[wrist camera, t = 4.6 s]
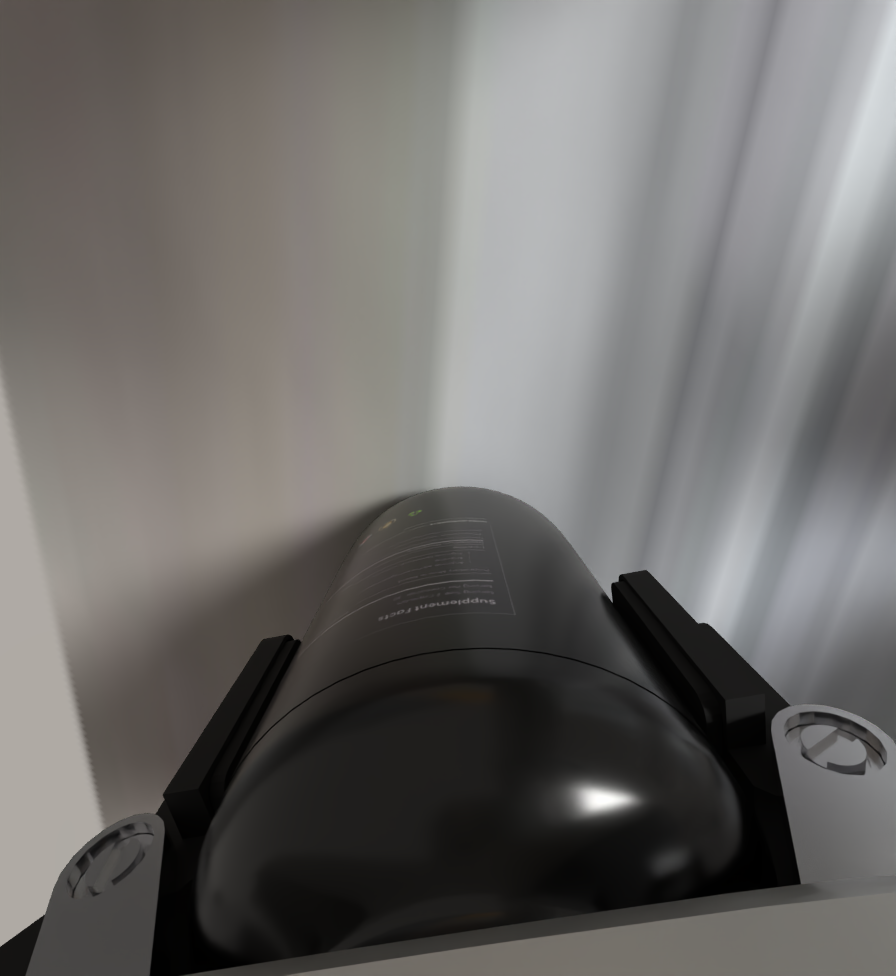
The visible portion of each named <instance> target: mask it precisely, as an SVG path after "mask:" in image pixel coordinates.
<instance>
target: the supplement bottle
mask: <svg viewBox="0 0 896 976" xmlns="http://www.w3.org/2000/svg"><path fill="white" fill-rule="evenodd" d="M776 887H779V883H778V879H777V875H776V871H775V867H774V863H773V859H772V855H771V851H770V847H769V845H768V842H767V840H766V837H765V835H764V832H763V830H762V827H761V825H760V822H759V820H758V817H757V815H756V813H755V811H754V809H753V808H752V806H751V804H750V802H749V801H748V799H747V797H746V795H745V793H744V792H743V790H742V788H741V787H740V785H739V784H738V782H737V780H736V779H735V777H734V776H733V774H732V773H731V771H730V770H729V768H728V766H727V765H726V763H725V761H724V760H723V758H722V757H721V755H720V754H719V752H718V751H717V749H716V748H715V747H714V745H713V744H712V742H711V741H710V740H709V738H708V737H707V735H706V734H705V732H704V731H703V730H702V728H701V727H700V725H699V724H698V723H697V721H696V720H695V718H694V717H693V716H692V714H691V713H690V711H689V710H688V709H687V707H686V706H685V704H684V703H683V701H682V700H681V699H680V697H679V696H678V694H677V693H676V692H675V690H674V689H673V687H672V686H671V685H670V683H669V682H668V680H667V679H666V678H665V676H664V675H663V673H662V672H661V671H660V669H659V668H658V666H657V665H656V664H655V662H654V661H653V659H652V658H651V656H650V655H649V654H648V652H647V651H646V649H645V648H644V647H643V645H642V644H641V642H640V641H639V640H638V638H637V637H636V635H635V634H634V633H633V631H632V630H631V628H630V627H629V626H628V624H627V623H626V621H625V620H624V619H623V617H622V616H621V614H620V613H619V611H618V610H617V609H616V607H615V606H614V604H613V603H612V602H611V600H610V599H609V597H608V596H607V595H606V593H605V592H604V590H603V589H602V588H601V586H600V585H599V583H598V582H597V581H596V579H595V578H594V576H593V575H592V574H591V572H590V571H589V569H588V568H587V566H586V565H585V564H584V562H583V561H582V559H581V558H580V557H579V555H578V554H577V553H576V551H575V550H574V548H573V547H572V546H571V544H570V543H569V542H568V541H567V539H566V538H565V537H564V535H563V534H562V533H561V532H560V531H559V530H558V529H557V527H556V526H555V525H554V524H553V523H552V522H551V521H549V520H548V519H547V518H546V517H545V516H544V515H543V514H541V513H540V512H539V511H537V510H536V509H534V508H533V507H531V506H530V505H528V504H526V503H525V502H523V501H521V500H519V499H517V498H514V497H512V496H510V495H507V494H504V493H501V492H498V491H493V490H489V489H484V488H477V487H447V488H441V489H435V490H431V491H427V492H423V493H420V494H417V495H414V496H412V497H409V498H407V499H405V500H403V501H401V502H399V503H397V504H396V505H394V506H392V507H391V508H389V509H388V510H386V511H385V512H384V513H382V514H381V515H380V516H378V517H377V518H376V519H375V520H374V521H373V522H372V523H371V524H370V525H369V526H368V527H367V528H366V529H365V530H364V531H363V533H362V534H361V535H360V536H359V538H358V539H357V540H356V542H355V543H354V545H353V546H352V548H351V550H350V551H349V553H348V555H347V557H346V558H345V560H344V562H343V563H342V565H341V567H340V569H339V571H338V573H337V575H336V576H335V578H334V580H333V582H332V584H331V586H330V588H329V590H328V592H327V594H326V596H325V598H324V600H323V602H322V603H321V605H320V607H319V609H318V611H317V613H316V615H315V617H314V619H313V621H312V623H311V625H310V627H309V628H308V630H307V632H306V634H305V636H304V638H303V640H302V642H301V644H300V646H299V648H298V650H297V652H296V654H295V655H294V657H293V659H292V661H291V663H290V665H289V667H288V669H287V671H286V673H285V675H284V677H283V679H282V680H281V682H280V684H279V686H278V688H277V690H276V692H275V694H274V696H273V698H272V700H271V702H270V704H269V706H268V707H267V709H266V711H265V713H264V715H263V717H262V719H261V721H260V723H259V725H258V727H257V729H256V731H255V732H254V734H253V736H252V738H251V740H250V742H249V744H248V746H247V748H246V750H245V752H244V754H243V756H242V758H241V760H240V761H239V763H238V765H237V767H236V769H235V771H234V773H233V775H232V777H231V779H230V781H229V783H228V785H227V788H226V790H225V792H224V795H223V797H222V799H221V801H220V803H219V805H218V807H217V810H216V812H215V814H214V817H213V819H212V821H211V824H210V826H209V828H208V831H207V833H206V835H205V838H204V840H203V842H202V845H201V849H200V852H199V856H198V859H197V863H196V867H195V871H194V875H193V881H192V887H191V894H190V902H189V912H188V960H189V969H190V974H195V973H201V972H207V971H214V970H220V969H226V968H233V967H239V966H246V965H252V964H258V963H265V962H271V961H277V960H284V959H290V958H296V957H303V956H309V955H315V954H322V953H328V952H334V951H341V950H347V949H354V948H361V947H367V946H374V945H380V944H387V943H394V942H400V941H407V940H413V939H420V938H427V937H433V936H440V935H446V934H453V933H460V932H467V931H473V930H480V929H487V928H493V927H500V926H507V925H513V924H520V923H527V922H533V921H540V920H547V919H554V918H561V917H568V916H575V915H582V914H588V913H595V912H602V911H609V910H616V909H623V908H630V907H637V906H644V905H651V904H658V903H665V902H672V901H679V900H686V899H693V898H700V897H707V896H714V895H721V894H728V893H736V892H744V891H752V890H760V889H768V888H776Z"/></svg>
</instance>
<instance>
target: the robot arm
mask: <svg viewBox="0 0 896 976" xmlns="http://www.w3.org/2000/svg"><path fill="white" fill-rule="evenodd" d="M611 590H612V599H613V604H614V606H615V607H616V609H617V610H618V611H619V613H620V614H621V616H622V617H623V619H624V620H625V621H626V623H627V624H628V626H629V627H630V628H631V630H632V631H633V633H634V634H635V635H636V637H637V638H638V640H639V641H640V642H641V644H642V645H643V647H644V648H645V649H646V651H647V652H648V654H649V655H650V656H651V658H652V659H653V661H654V662H655V664H656V665H657V666H658V668H659V669H660V671H661V672H662V673H663V675H664V676H665V678H666V679H667V680H668V682H669V683H670V685H671V686H672V687H673V689H674V690H675V692H676V693H677V694H678V696H679V697H680V699H681V700H682V701H683V703H684V704H685V706H686V707H687V709H688V710H689V711H690V713H691V714H692V716H693V717H694V718H695V720H696V721H697V723H698V724H699V725H700V727H701V728H702V730H703V731H704V732H705V734H706V735H707V737H708V738H709V740H710V741H711V742H712V744H713V745H714V747H715V748H716V749H717V751H718V752H719V754H720V755H721V757H722V758H723V760H724V761H725V763H726V765H727V766H728V768H729V770H730V771H731V773H732V774H733V776H734V777H735V779H736V780H737V782H738V784H739V785H740V787H741V788H742V790H743V792H744V793H745V795H746V797H747V799H748V801H749V802H750V804H751V806H752V808H753V809H754V811H755V813H756V815H757V817H758V820H759V822H760V825H761V827H762V830H763V832H764V835H765V837H766V840H767V842H768V845H769V847H770V851H771V855H772V859H773V863H774V867H775V871H776V875H777V879H778V883H779V887H776V888H768V889H760V890H752V891H744V892H736V893H728V894H721V895H714V896H707V897H700V898H693V899H686V900H679V901H672V902H665V903H658V904H651V905H644V906H637V907H630V908H623V909H616V910H609V911H602V912H595V913H588V914H582V915H575V916H568V917H561V918H554V919H547V920H540V921H533V922H527V923H520V924H513V925H507V926H500V927H493V928H487V929H480V930H473V931H467V932H460V933H453V934H446V935H440V936H433V937H427V938H420V939H413V940H407V941H400V942H394V943H387V944H380V945H374V946H367V947H361V948H354V949H347V950H341V951H334V952H328V953H322V954H315V955H309V956H303V957H296V958H290V959H284V960H277V961H271V962H265V963H258V964H252V965H246V966H239V967H233V968H226V969H220V970H214V971H207V972H201V973H195V974H190V969H189V960H188V912H189V902H190V894H191V887H192V881H193V875H194V871H195V867H196V863H197V859H198V856H199V852H200V849H201V845H202V842H203V840H204V838H205V835H206V833H207V831H208V828H209V826H210V824H211V821H212V819H213V817H214V814H215V812H216V810H217V807H218V805H219V803H220V801H221V799H222V797H223V795H224V792H225V790H226V788H227V785H228V783H229V781H230V779H231V777H232V775H233V773H234V771H235V769H236V767H237V765H238V763H239V761H240V760H241V758H242V756H243V754H244V752H245V750H246V748H247V746H248V744H249V742H250V740H251V738H252V736H253V734H254V732H255V731H256V729H257V727H258V725H259V723H260V721H261V719H262V717H263V715H264V713H265V711H266V709H267V707H268V706H269V704H270V702H271V700H272V698H273V696H274V694H275V692H276V690H277V688H278V686H279V684H280V682H281V680H282V679H283V677H284V675H285V673H286V671H287V669H288V667H289V665H290V663H291V661H292V659H293V657H294V655H295V654H296V652H297V650H298V648H299V646H300V644H301V641H300V640H294V639H293V637H292V636H291V635H283V636H278V637H272V638H267V639H263V640H262V641H261V643H260V644H259V646H258V647H257V649H256V650H255V652H254V654H253V655H252V657H251V658H250V660H249V661H248V663H247V664H246V666H245V668H244V669H243V671H242V672H241V674H240V675H239V677H238V678H237V680H236V681H235V683H234V685H233V686H232V688H231V689H230V691H229V692H228V694H227V695H226V697H225V699H224V700H223V702H222V703H221V705H220V706H219V708H218V709H217V711H216V713H215V714H214V716H213V717H212V719H211V720H210V722H209V723H208V725H207V726H206V728H205V730H204V731H203V733H202V734H201V736H200V737H199V739H198V740H197V742H196V744H195V745H194V747H193V748H192V750H191V751H190V753H189V754H188V756H187V758H186V759H185V761H184V762H183V764H182V765H181V767H180V768H179V770H178V772H177V773H176V775H175V776H174V778H173V779H172V781H171V782H170V784H169V785H168V787H167V789H166V790H165V792H164V793H163V797H164V799H165V800H164V802H163V803H162V805H161V806H160V808H159V809H158V811H157V813H156V814H150V813H144V814H138V815H133V816H131V817H128V818H126V819H123V820H121V821H119V822H117V823H115V824H113V825H112V826H110V827H108V828H106V829H105V830H103V831H102V832H101V833H99V834H98V835H97V836H95V837H94V838H93V839H91V840H90V841H89V842H87V844H85V846H83V848H82V849H80V850H79V851H78V852H77V853H76V854H75V855H74V856H73V857H72V859H71V860H70V862H69V863H68V864H67V865H66V867H65V868H64V869H63V871H62V872H61V874H60V876H59V878H58V881H57V882H56V884H55V887H54V889H53V892H52V895H51V898H50V901H49V904H48V907H47V911H46V914H45V915H43V916H42V917H41V918H39V919H38V920H37V921H35V922H34V923H32V924H31V925H30V926H28V927H27V928H26V929H24V930H23V931H21V932H20V933H19V934H18V935H16V936H15V937H13V938H12V939H10V940H9V941H8V942H6V943H5V944H4V945H2V946H1V947H0V976H896V744H895V743H894V741H893V740H892V738H891V737H889V736H888V735H887V734H886V733H885V732H883V731H882V730H881V729H880V728H879V727H877V726H876V725H874V724H872V723H871V722H869V721H867V720H865V719H864V718H862V717H860V716H858V715H855V714H853V713H850V712H847V711H845V710H842V709H839V708H834V707H829V706H825V705H817V704H800V705H794V706H790V705H789V704H788V703H787V702H786V701H785V700H784V699H783V698H782V697H781V696H780V695H779V694H778V693H777V692H776V691H775V690H774V689H773V688H772V687H771V686H770V685H769V684H768V683H767V682H766V681H765V680H764V679H763V678H762V677H761V676H760V675H759V674H758V673H757V672H756V671H755V670H754V669H753V668H752V667H751V666H750V665H749V664H748V663H747V662H746V661H745V660H744V659H743V658H742V657H741V656H740V655H739V654H738V653H737V652H736V651H735V650H734V649H733V648H732V647H731V646H730V645H729V644H728V643H727V642H726V641H725V640H724V639H723V638H722V637H721V636H720V635H719V634H718V633H717V632H716V631H715V630H714V629H713V628H712V627H711V626H710V625H708V624H706V623H699V624H698V623H697V622H696V621H695V620H694V619H693V618H692V617H691V616H690V615H689V614H688V613H687V612H686V611H685V610H684V608H683V607H682V606H681V605H680V604H679V603H678V602H677V601H676V600H675V599H674V598H673V597H672V596H671V595H670V594H669V593H668V592H667V591H666V590H665V589H664V588H663V586H662V585H661V584H660V583H659V582H658V581H657V580H656V579H655V578H654V577H653V576H652V575H651V574H650V573H649V572H648V571H647V570H644V571H638V572H632V573H627V574H621V575H620V576H619V582H615V583H612V585H611Z"/></svg>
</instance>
